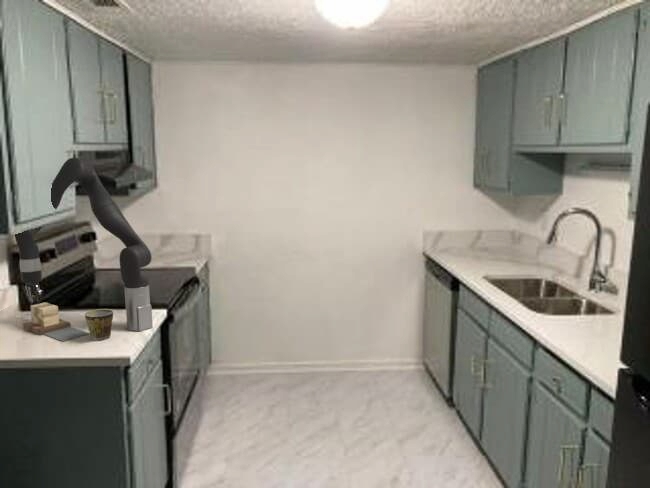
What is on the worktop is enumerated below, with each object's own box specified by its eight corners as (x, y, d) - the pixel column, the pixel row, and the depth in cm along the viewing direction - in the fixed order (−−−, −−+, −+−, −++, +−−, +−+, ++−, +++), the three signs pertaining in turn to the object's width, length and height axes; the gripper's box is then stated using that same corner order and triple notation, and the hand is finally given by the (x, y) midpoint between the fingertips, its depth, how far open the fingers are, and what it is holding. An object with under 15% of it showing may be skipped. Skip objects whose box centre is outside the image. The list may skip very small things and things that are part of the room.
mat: (89, 333, 214) (89, 333, 214) (62, 341, 205) (62, 341, 205) (70, 327, 222) (70, 326, 222) (43, 334, 213) (43, 333, 213)
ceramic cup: (89, 334, 213) (87, 309, 211) (116, 332, 215) (114, 307, 213) (83, 346, 200) (80, 319, 199) (112, 343, 203) (110, 317, 201)
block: (59, 323, 221) (57, 306, 220) (44, 326, 216) (42, 309, 215) (46, 318, 227) (45, 302, 226) (32, 322, 222) (30, 305, 221)
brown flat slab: (70, 327, 222) (70, 322, 222) (40, 335, 213) (40, 330, 212) (53, 321, 230) (52, 316, 230) (23, 328, 221) (23, 323, 221)
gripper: (48, 269, 222) (52, 311, 225) (32, 265, 230) (36, 306, 233) (29, 272, 216) (33, 315, 219) (13, 268, 224) (17, 310, 227)
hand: (34, 310), depth 226 cm, fingers closed
